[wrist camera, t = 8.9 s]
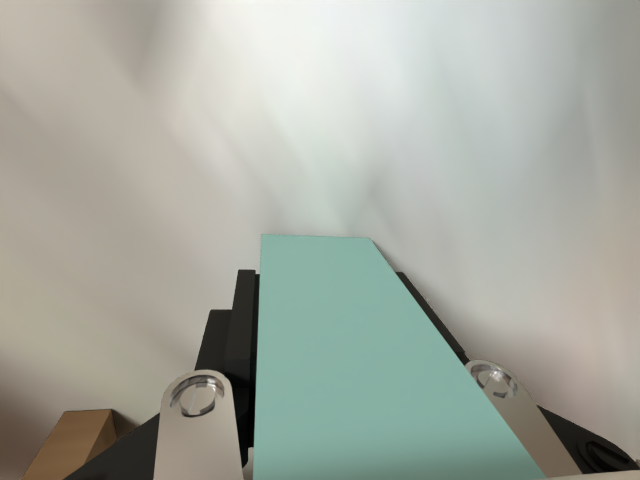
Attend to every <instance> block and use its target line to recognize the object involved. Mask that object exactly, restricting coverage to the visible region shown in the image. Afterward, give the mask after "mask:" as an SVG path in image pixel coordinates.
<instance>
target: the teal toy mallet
mask: <svg viewBox="0 0 640 480" xmlns="http://www.w3.org/2000/svg"><path fill="white" fill-rule="evenodd" d="M544 478H547V477H546V476H545V475H544V473H543V472H542V471H541V469H540V468H539V466H538V465H537V464H536V462H535V461H534V460H533V458H532V457H531V456H530V454H529V453H528V452H527V450H526V449H525V448H524V446H523V445H522V444H521V442H520V441H519V439H518V438H517V437H516V435H515V434H514V433H513V431H512V430H511V429H510V427H509V426H508V425H507V423H506V422H505V421H504V419H503V418H502V416H501V415H500V414H499V412H498V411H497V410H496V408H495V407H494V406H493V404H492V403H491V402H490V400H489V399H488V398H487V396H486V395H485V394H484V392H483V391H482V389H481V388H480V387H479V385H478V384H477V383H476V381H475V380H474V379H473V377H472V376H471V375H470V373H469V372H468V371H467V369H466V368H465V367H464V365H463V364H462V362H461V361H460V360H459V358H458V357H457V356H456V354H455V353H454V352H453V350H452V349H451V348H450V346H449V345H448V344H447V342H446V341H445V339H444V338H443V337H442V335H441V334H440V333H439V331H438V330H437V329H436V327H435V326H434V325H433V323H432V322H431V321H430V319H429V318H428V317H427V315H426V314H425V312H424V311H423V310H422V308H421V307H420V306H419V304H418V303H417V302H416V300H415V299H414V298H413V296H412V295H411V294H410V292H409V291H408V289H407V288H406V287H405V285H404V284H403V283H402V281H401V280H400V279H399V277H398V276H397V275H396V273H395V272H394V271H393V269H392V268H391V267H390V265H389V264H388V262H387V261H386V260H385V258H384V257H383V256H382V254H381V253H380V252H379V250H378V249H377V248H376V246H375V245H374V244H373V242H372V241H371V239H370V238H353V237H325V236H296V235H268V234H261V260H260V288H259V316H258V345H257V373H256V402H255V430H254V459H253V480H535V479H544Z"/></svg>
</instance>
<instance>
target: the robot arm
mask: <svg viewBox="0 0 640 480" xmlns="http://www.w3.org/2000/svg"><path fill="white" fill-rule="evenodd" d="M395 273H396V275H397V276H398V277H399V279H400V280H401V281H402V283H403V284H404V285H405V287H406V288H407V289H408V291H409V292H410V294H411V295H412V296H413V298H414V299H415V300H416V302H417V303H418V304H419V306H420V307H421V308H422V310H423V311H424V312H425V314H426V315H427V317H428V318H429V319H430V321H431V322H432V323H433V325H434V326H435V327H436V329H437V330H438V331H439V333H440V334H441V335H442V337H443V338H444V339H445V341H446V342H447V344H448V345H449V346H450V348H451V349H452V350H453V352H454V353H455V354H456V356H457V357H458V358H459V360H460V361H461V362H462V364H463V365H464V367H465V368H466V369H467V371H468V372H469V373H470V375H471V376H472V377H473V379H474V380H475V381H476V383H477V384H478V385H479V387H480V388H481V389H482V391H483V392H484V394H485V395H486V396H487V398H488V399H489V400H490V402H491V403H492V404H493V406H494V407H495V408H496V410H497V411H498V412H499V414H500V415H501V416H502V418H503V419H504V421H505V422H506V423H507V425H508V426H509V427H510V429H511V430H512V431H513V433H514V434H515V435H516V437H517V438H518V439H519V441H520V442H521V444H522V445H523V446H524V448H525V449H526V450H527V452H528V453H529V454H530V456H531V457H532V458H533V460H534V461H535V462H536V464H537V465H538V466H539V468H540V469H541V471H542V472H543V473H544V475H545V476H546V477H547V478H544V479H535V480H640V460H636V461H634V460H633V459H632V458H631V457H630V456H629V455H628V454H627V453H625V452H624V451H623V450H621V449H620V448H619V447H617V446H616V445H615V444H613V443H611V442H609V441H608V440H606V439H604V438H602V437H600V436H598V435H596V434H594V433H592V432H590V431H588V430H586V429H584V428H582V427H580V426H578V425H576V424H574V423H572V422H570V421H568V420H566V419H564V418H562V417H560V416H558V415H556V414H554V413H552V412H550V411H548V410H546V409H544V408H542V407H540V406H538V405H536V404H535V402H534V401H533V400H532V398H531V397H530V395H529V394H528V392H527V391H526V389H525V388H524V386H523V385H522V383H521V382H520V381H519V380H518V378H517V377H516V376H515V375H513V374H512V373H511V372H510V371H509V370H507V369H505V368H504V367H502V366H500V365H498V364H495V363H493V362H490V361H485V360H473V361H469V359H468V358H467V357H466V355H465V354H464V353H465V351H464V350H463V349H462V347H461V346H460V345H459V343H458V342H457V341H456V340H455V338H454V337H453V336H452V334H451V333H450V332H449V331H448V329H447V328H446V327H445V326H444V324H443V323H442V322H441V320H440V319H439V318H438V317H437V315H436V314H435V313H434V311H433V310H432V309H431V308H430V306H429V305H428V304H427V302H426V301H425V300H424V299H423V297H422V296H421V295H420V293H419V292H418V291H417V290H416V288H415V287H414V286H413V284H412V283H411V282H410V281H409V279H408V278H407V277H406V275H405V274H404V273H403V272H395ZM259 288H260V274H255V270H238V276H237V282H236V288H235V295H234V301H233V307H232V310H211V311H210V313H209V317H208V321H207V325H206V328H205V332H204V336H203V340H202V344H201V347H200V351H199V355H198V359H197V363H196V367H195V370H194V371H193V372H189V373H186V374H184V375H183V376H181V377H179V378H177V379H176V380H175V381H174V382H172V383H171V384H170V385H169V387H168V388H167V389H166V391H165V392H164V395H163V398H162V401H161V411H160V413H158V414H157V415H155V416H154V417H153V418H151V419H150V420H148V421H147V422H145V423H144V424H142V425H141V426H139V427H138V428H137V429H135V430H134V431H132V432H131V433H129V434H128V435H126V436H125V437H123V438H122V439H121V440H119V441H118V442H116V443H115V444H113V445H112V446H110V447H109V448H107V449H106V450H105V451H103V452H102V453H100V454H99V455H97V456H96V457H94V458H93V459H92V460H90V461H89V462H87V463H86V464H84V465H83V466H81V467H80V468H78V469H77V470H76V471H74V472H73V473H71V474H70V475H68V476H67V477H65V478H64V479H62V480H243V473H242V468H243V467H244V466H245V465H246V464H247V462H248V448H250V447H254V430H255V402H256V373H257V345H258V316H259Z"/></svg>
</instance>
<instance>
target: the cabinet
mask: <svg viewBox="0 0 640 480" xmlns="http://www.w3.org/2000/svg"><path fill="white" fill-rule="evenodd" d="M116 439H117V435H116V430H115V426H114V421H113V416H112V411H111V409H109V410H90V411H71V412H64V413H63V415H62V417H61V418H60V420H59V421H58V423H57V424H56V426H55V427H54V429H53V431H52V432H51V434H50V435H49V437H48V438H47V440H46V441H45V443H44V444H43V446H42V448H41V449H40V451H39V452H38V454H37V455H36V457H35V458H34V460H33V462H32V463H31V465H30V466H29V468H28V469H27V471H26V472H25V474H24V476H23V477H22V479H21V480H62V479H64V478H65V477H67V476H68V475H70V474H71V473H73V472H74V471H76V470H77V469H78V468H80V467H81V466H83V465H84V464H86V463H87V462H89V461H90V460H92V459H93V458H94V457H96V456H97V455H99V454H100V453H102V452H103V451H105V450H106V449H107V448H109V447H110V446H112V445H113V444H114V443H115V441H116Z"/></svg>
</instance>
